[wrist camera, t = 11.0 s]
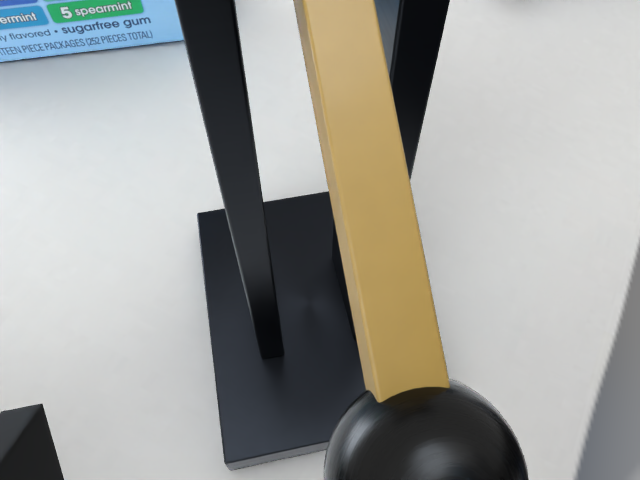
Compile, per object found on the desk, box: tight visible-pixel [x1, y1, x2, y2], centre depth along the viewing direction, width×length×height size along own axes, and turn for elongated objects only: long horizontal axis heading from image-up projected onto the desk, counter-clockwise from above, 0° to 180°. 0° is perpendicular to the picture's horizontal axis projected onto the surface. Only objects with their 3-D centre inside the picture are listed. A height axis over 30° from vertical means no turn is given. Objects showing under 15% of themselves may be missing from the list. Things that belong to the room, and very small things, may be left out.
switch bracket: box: [174, 0, 450, 470], centre depth 17 cm, size 12×9×22 cm
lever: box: [293, 0, 529, 480], centre depth 9 cm, size 14×3×3 cm, turn 12°
